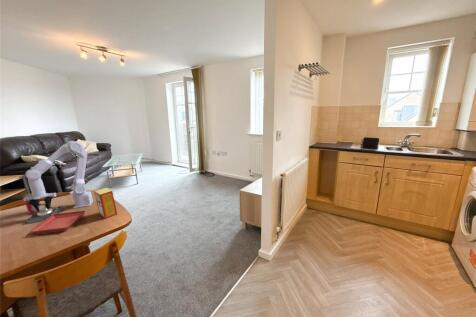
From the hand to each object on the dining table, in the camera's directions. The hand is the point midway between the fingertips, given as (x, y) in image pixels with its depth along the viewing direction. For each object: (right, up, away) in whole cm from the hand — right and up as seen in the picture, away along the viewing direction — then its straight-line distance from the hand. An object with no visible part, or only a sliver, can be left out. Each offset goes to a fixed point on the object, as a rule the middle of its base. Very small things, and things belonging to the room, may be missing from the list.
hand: (44, 209), depth 119 cm
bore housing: (0, -5, +1) cm, 5 cm away
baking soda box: (+39, -4, +1) cm, 39 cm away
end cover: (0, -3, +1) cm, 3 cm away
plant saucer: (+18, -7, -8) cm, 21 cm away
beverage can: (-13, -4, +8) cm, 16 cm away
